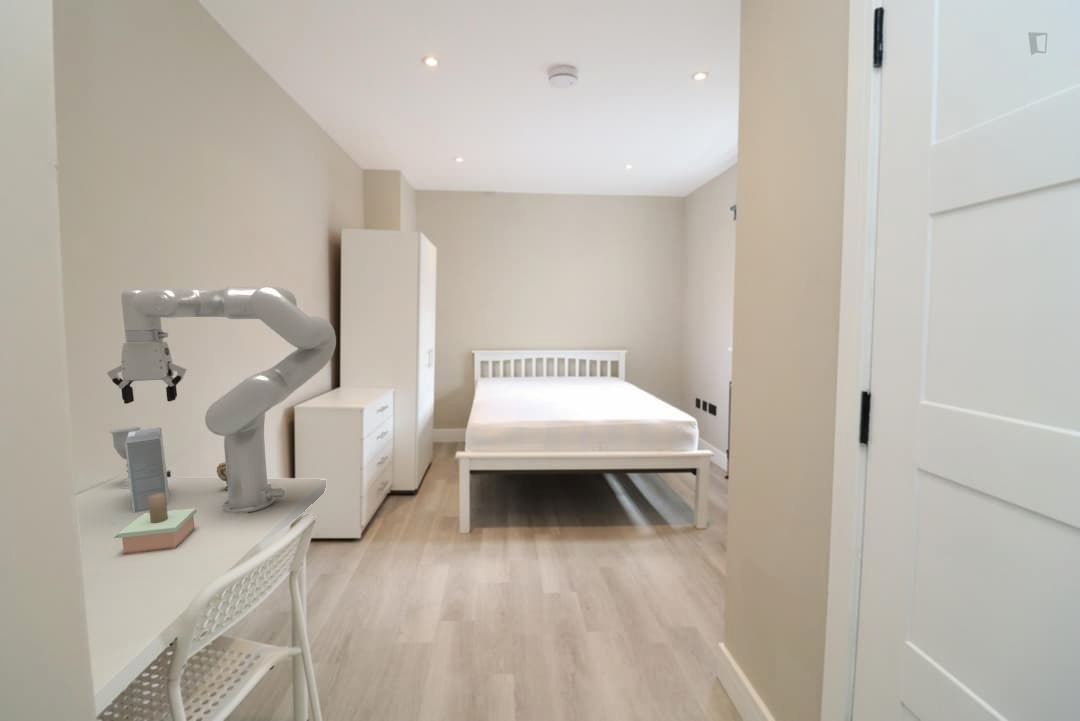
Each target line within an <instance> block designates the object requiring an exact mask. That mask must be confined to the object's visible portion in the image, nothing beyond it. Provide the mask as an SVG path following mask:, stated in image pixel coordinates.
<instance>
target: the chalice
mask: <svg viewBox="0 0 1080 721" xmlns="http://www.w3.org/2000/svg"><path fill="white" fill-rule="evenodd" d="M135 430H141V426H127V427H126V426H125V427H121V428H116V429H112V430H110V431H109V432H110V434H111V435H112V440H113V441H112V442H113V448H114V449H115V451H116V452H117V454H118V455H119V456H120V457H121V458H122V459H123V460H126V461H127V456H126V448H125V442H126V439H127V436H128V433H129V431H135ZM125 466H126V468H127V469H126V472H127V474H128V476H127V478H125V479H124V480H123V482H122V485H121V487H120V488H121V489H123V490H125V489H130V481H129V473H128V464H127V463H126V465H125Z"/></svg>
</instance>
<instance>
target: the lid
mask: <svg viewBox="0 0 1080 721" xmlns="http://www.w3.org/2000/svg"><path fill="white" fill-rule="evenodd" d="M148 502H149V510H148V511H149V512H144V513H143V514H142V515H140V516H139V517H138V518H136V519H135V520H134V521H132V522H131V523H130V524H128V525H127V526H125V528H123V529H122V530H121V531H120V532H118V533H117V535H118V538H117V539H122V538H123V537H132V536H141V535H150V534H160V533H169V532H176V531H177V530H178V529H179V528H180V527H181V526H182V525H183V524H184V523H186V522H187V521H188V520H189V519H190V518H191V517H192V516H193V515H194V516H195V514H196V513H197V508H187V509H186V508H184V509H174V510H168V503H167V504H166V494H165V493H157V494H153V495H150V496H149V497H148Z"/></svg>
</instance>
